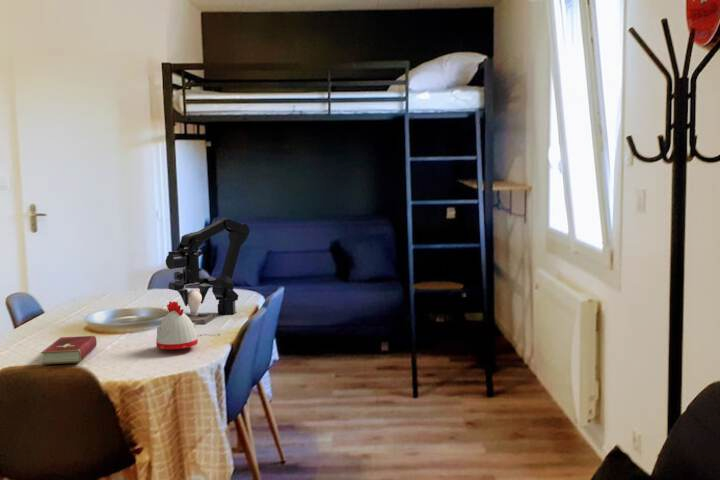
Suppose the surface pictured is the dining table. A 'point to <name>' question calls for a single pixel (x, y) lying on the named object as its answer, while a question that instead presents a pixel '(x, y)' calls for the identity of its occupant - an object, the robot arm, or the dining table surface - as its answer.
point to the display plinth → (202, 318)
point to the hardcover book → (69, 349)
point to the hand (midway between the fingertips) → (193, 304)
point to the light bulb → (194, 301)
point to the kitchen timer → (176, 329)
